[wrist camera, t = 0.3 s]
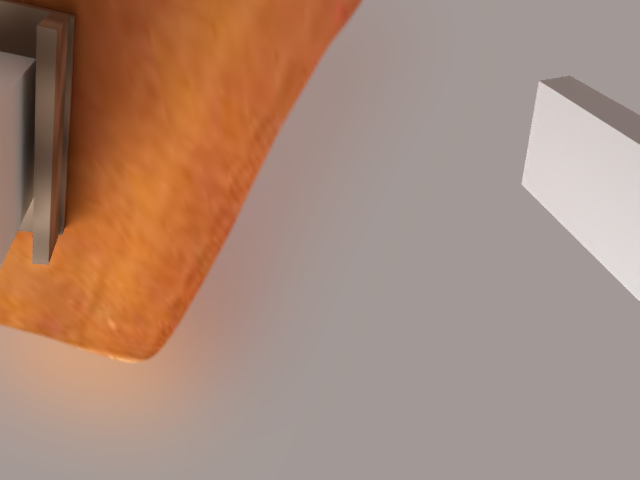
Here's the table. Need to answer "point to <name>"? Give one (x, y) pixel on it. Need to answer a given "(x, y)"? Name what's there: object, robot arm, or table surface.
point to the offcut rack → (45, 111)
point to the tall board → (16, 143)
